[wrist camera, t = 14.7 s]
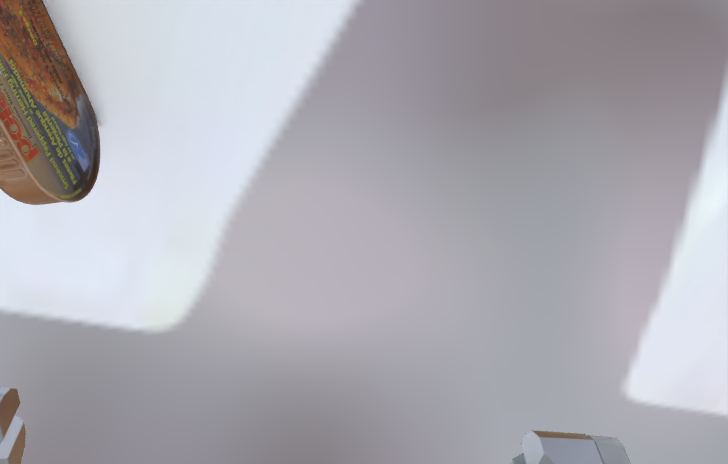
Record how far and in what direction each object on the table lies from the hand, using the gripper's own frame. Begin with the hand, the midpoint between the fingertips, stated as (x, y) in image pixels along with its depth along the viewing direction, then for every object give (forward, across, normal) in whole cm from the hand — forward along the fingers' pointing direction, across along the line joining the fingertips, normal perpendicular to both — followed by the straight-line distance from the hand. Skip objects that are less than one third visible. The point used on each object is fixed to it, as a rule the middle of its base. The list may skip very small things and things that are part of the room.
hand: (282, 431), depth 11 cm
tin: (+31, +15, +8) cm, 36 cm away
